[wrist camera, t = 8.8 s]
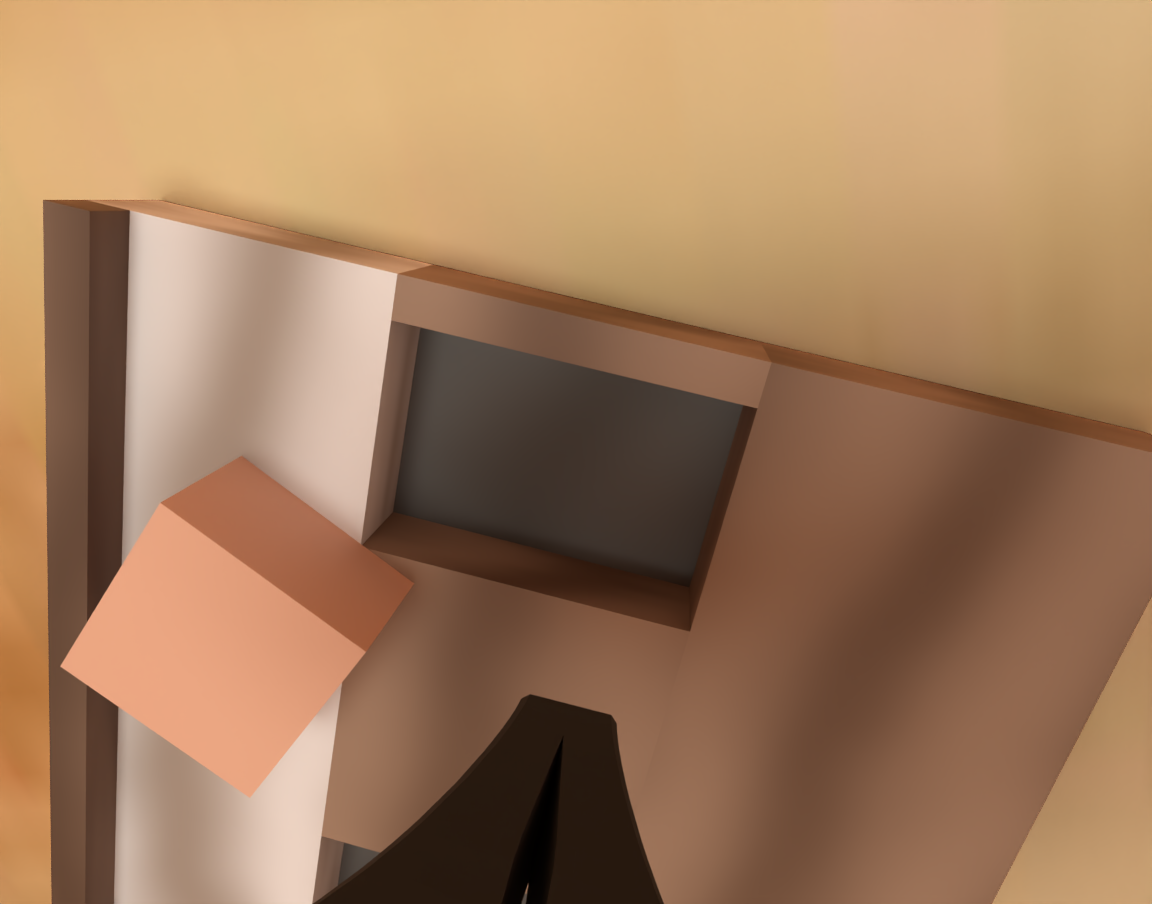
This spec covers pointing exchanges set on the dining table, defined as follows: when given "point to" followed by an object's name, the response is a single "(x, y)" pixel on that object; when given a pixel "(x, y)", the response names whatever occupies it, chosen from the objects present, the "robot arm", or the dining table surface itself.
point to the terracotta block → (235, 621)
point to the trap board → (579, 570)
